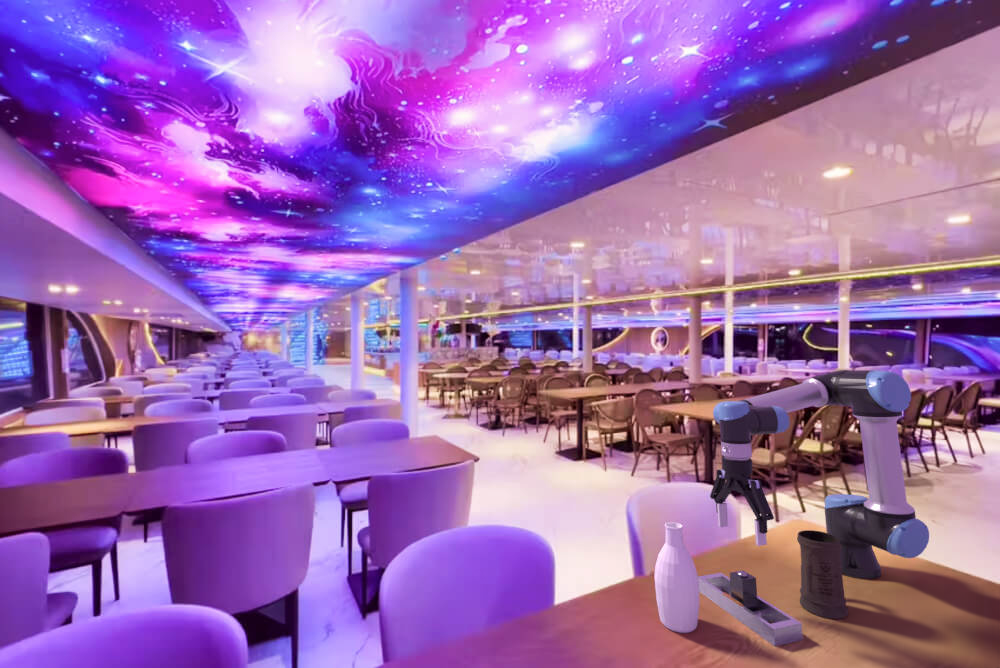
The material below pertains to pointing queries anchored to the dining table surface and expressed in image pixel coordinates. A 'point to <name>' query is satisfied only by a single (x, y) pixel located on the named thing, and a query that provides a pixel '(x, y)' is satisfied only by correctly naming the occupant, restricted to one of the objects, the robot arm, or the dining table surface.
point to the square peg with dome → (744, 589)
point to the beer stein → (821, 575)
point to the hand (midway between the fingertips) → (741, 535)
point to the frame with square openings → (775, 633)
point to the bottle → (676, 583)
